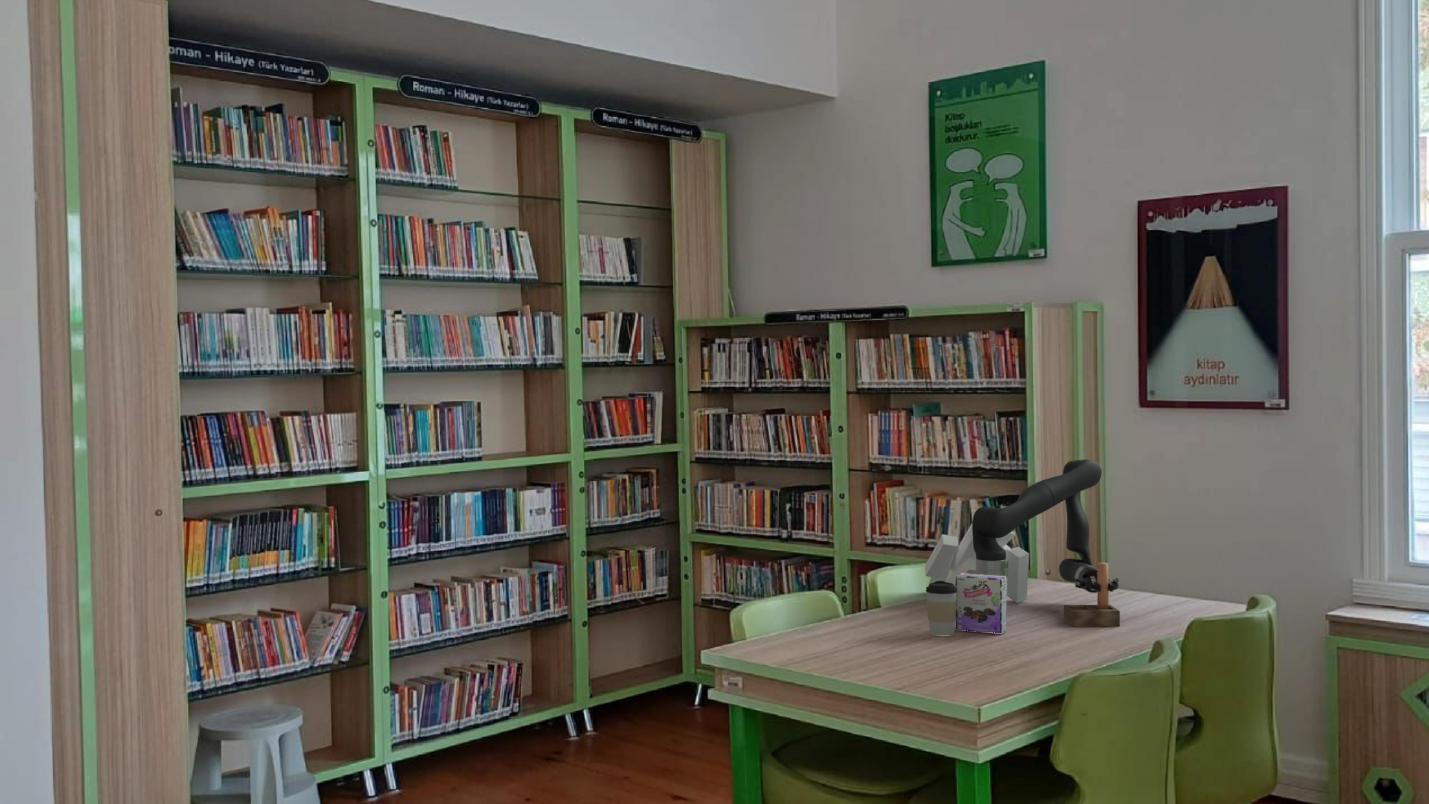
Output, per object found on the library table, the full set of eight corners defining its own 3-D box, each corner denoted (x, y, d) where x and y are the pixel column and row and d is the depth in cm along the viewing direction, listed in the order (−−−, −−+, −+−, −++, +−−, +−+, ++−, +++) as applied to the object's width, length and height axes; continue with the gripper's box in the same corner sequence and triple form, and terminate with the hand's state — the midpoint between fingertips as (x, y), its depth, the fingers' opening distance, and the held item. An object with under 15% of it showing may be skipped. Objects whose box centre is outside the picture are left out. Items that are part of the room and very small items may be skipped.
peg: (1099, 617, 375) (1099, 564, 374) (1096, 615, 378) (1096, 562, 378) (1109, 617, 375) (1109, 564, 374) (1106, 615, 378) (1106, 562, 378)
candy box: (955, 631, 367) (954, 575, 367) (960, 627, 372) (960, 572, 372) (1001, 635, 361) (1001, 578, 360) (1007, 631, 366) (1006, 575, 365)
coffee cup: (960, 637, 358) (959, 585, 358) (928, 637, 358) (928, 585, 358) (954, 630, 367) (954, 579, 367) (923, 631, 367) (923, 580, 367)
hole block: (1072, 626, 372) (1072, 611, 372) (1063, 619, 382) (1063, 605, 382) (1119, 626, 371) (1119, 610, 371) (1110, 619, 381) (1110, 604, 381)
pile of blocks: (904, 617, 414) (922, 531, 397) (930, 570, 439) (948, 487, 422) (1008, 653, 403) (1031, 565, 386) (1028, 603, 427) (1050, 518, 410)
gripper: (1067, 566, 391) (1082, 575, 373) (1112, 566, 390) (1129, 575, 373) (1067, 590, 391) (1082, 601, 374) (1112, 590, 390) (1129, 600, 373)
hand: (1105, 588), depth 373 cm, fingers closed on peg, 3 cm apart
